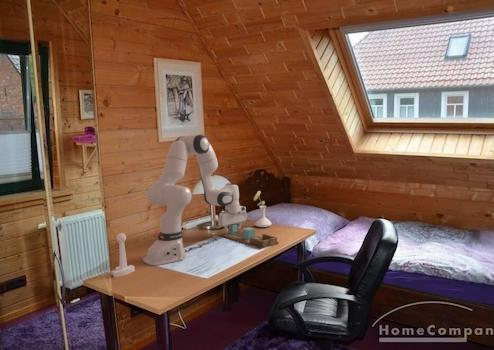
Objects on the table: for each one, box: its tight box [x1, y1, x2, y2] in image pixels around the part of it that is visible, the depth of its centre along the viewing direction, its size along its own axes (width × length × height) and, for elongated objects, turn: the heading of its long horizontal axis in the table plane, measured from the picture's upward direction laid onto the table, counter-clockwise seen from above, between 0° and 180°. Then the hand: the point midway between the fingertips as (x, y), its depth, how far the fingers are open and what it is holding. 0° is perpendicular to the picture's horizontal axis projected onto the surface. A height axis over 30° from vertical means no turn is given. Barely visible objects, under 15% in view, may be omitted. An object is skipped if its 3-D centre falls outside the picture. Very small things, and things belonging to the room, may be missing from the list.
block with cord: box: [228, 224, 256, 240], centre depth 256 cm, size 5×19×6 cm, turn 41°
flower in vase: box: [253, 190, 273, 228], centre depth 280 cm, size 13×11×25 cm
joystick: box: [110, 232, 136, 278], centre depth 202 cm, size 11×8×20 cm
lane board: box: [221, 230, 279, 250], centre depth 251 cm, size 14×36×4 cm, turn 41°
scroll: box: [213, 218, 239, 229], centre depth 283 cm, size 8×8×20 cm
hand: (233, 230), depth 262 cm, fingers open, 8 cm apart
